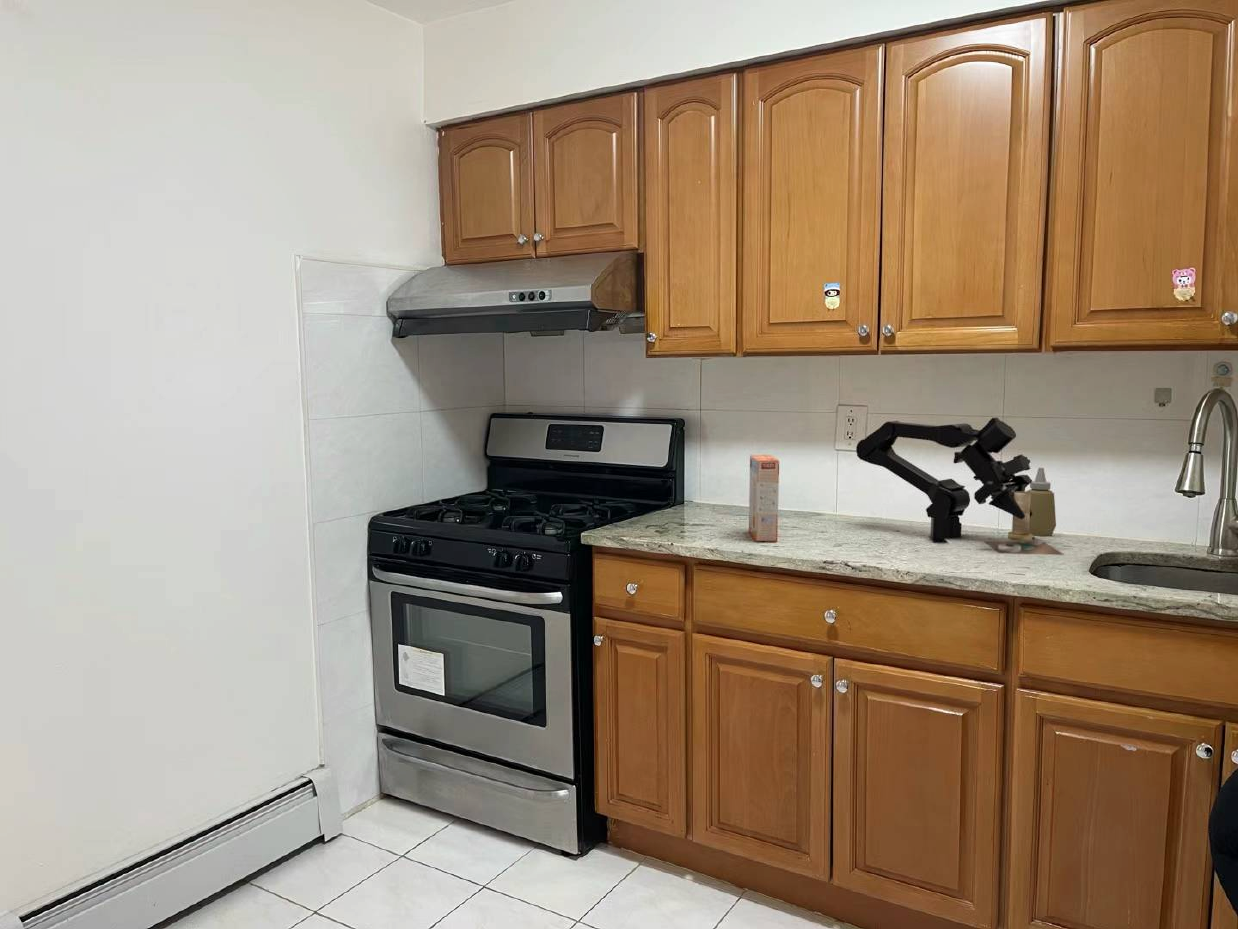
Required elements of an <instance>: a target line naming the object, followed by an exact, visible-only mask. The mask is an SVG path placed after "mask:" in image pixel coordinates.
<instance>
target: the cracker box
mask: <svg viewBox="0 0 1238 929" xmlns="http://www.w3.org/2000/svg"><path fill="white" fill-rule="evenodd" d="M779 480H780V460H779V459H777V458H775V457H774V456H773V455H771V454H750V456H749V492H748V493H749V494H748V495H749V496H748V497H749V498H748V500H749V501H748V533H749V534H750V535H751V537H752V538H753V540H754V541H755V542H757V541H765V542H766V543H767V542H772V543H773V542H774V543H775V542H778V532H779V531H778V528H779V527H778V525H779V492H780V491H779V488H780V487H779V484H780V481H779ZM765 542H764V543H765Z"/></svg>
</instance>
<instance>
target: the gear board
mask: <svg viewBox="0 0 1238 929" xmlns="http://www.w3.org/2000/svg"><path fill="white" fill-rule="evenodd" d="M983 542H984V543H985V544H987V545H988V546H989V547H990V548H992V549H993V550H995V551H996V552H997V553H998V554H1010V555H1011V554H1013V555H1014V554H1016V555H1017V554H1018V555H1019V554H1020V555H1021V554H1022V555H1053V556H1054V555H1062V556H1064V555H1065V554H1064V553H1063V552H1061V551H1060V550H1058V549H1056V548H1054V547H1052V546H1051V545H1050V544H1048V543H1046V542H1043V539H1041V538H1038V537H1036V536H1033V535H1032V540H1030V541H992V540H991V541H989V540H988V541H987V540H986V541H984V540H983Z"/></svg>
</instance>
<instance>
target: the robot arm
mask: <svg viewBox="0 0 1238 929" xmlns="http://www.w3.org/2000/svg"><path fill="white" fill-rule="evenodd" d="M898 438H903V439H913V440H914V439H915V440H924V441H929V442H930V441H931V442H934V443H936V444H938V445H941V446H944V447H947V448H950V449H957V448H963V447H964V448H963V449H962V450H961V451H954V453H953V454H954V457H953V464H959V463H963V462H964V463H965V465H966V466H967V467H968V469H970V471H971V472H972V473H973V474H974V476H973V477H972V478H973V479H974V480H975V481H979V482H981V483H982V486H981V487H979V488H978V489H977V490H976V491H975V492H974V494H973V495H974V496H973V498H974V500H975V502H977V504H978V505H983V504H985V503H987V499H988V498H989V497H990V496H991V497H990V499H991V500H990V501H989V502H988V505H989V506H993V507H995V508H997V509H999V510H1002V511H1003V512H1006V513H1008V514H1009V515H1012V516H1013V515H1014V516H1016V517H1018V518H1020V519H1023V518H1024V517H1025V515H1024V513H1023V512H1022V510H1021V508H1020V507H1019V505H1018V504H1017V502H1016V501H1015V500H1014V492H1015V491H1025V492H1026V488H1027V487H1028V486H1030V483H1031V482H1032V481H1033V479H1032V478H1030V476H1029V475H1028V474H1018V473H1021V472H1023V471H1028V470H1031V467H1030V464H1031V460H1030V459H1029V458H1028V456H1025V455H1023V454H1018V455H1017V456H1016V455H1015V456H1013V458H1012V459H1010V460H1008V461H1005V462H1003V461H1002V460H996V459H995V458H994V457H993V455H992V453H994V454H999V453H1000V452H1001V451H1002V450H1003V449H1004V448H1006V447H1007V446H1008V445H1009V444H1010V443H1011V442H1012V441H1013V440H1015V438H1017V434H1016V432H1015V430H1014V429H1013V427H1012V426H1010V425H1008V424H1007V423H1006V422H1004V421H1002V420H1000V419H999V417H991V419H990V420H988V422H987V424H986V425H984V427H982V428H981V429H980V430H979V429H975V428H973V426H972V425H970V424H969V423H964V422H963V423H954V424H943V425H935V424H933V425H932V424H926V423H925V424H924V423H912V422H905V421H903V422H902V421H899V420H891V421H885V422H884V423H883V424H882V425H881V426H880V427H879V428H878V429H876V430H875V431H873V432H872V433H870V434H869V435H867V436H866V437H865V438H863V439H861V440H859V441H858V443H857V444H856V448H855V449H856V456H857V457H858V458H859V460H862V461H863V462H865V463H869V464H870V465H875V466H879V467H883V468H884V469H887V470H888V471H889V472H890V473H893V474H894V475H896V476H898V477H899V478H901V479H902V480H903V481H905V482H907V483H908V484H910V485H912V486H913V487H915V488H916V489H918V490H919V491H921V492H922V493H924V494H925V495H927V497H928V499H929V501H930V502H931V504H930V505H928V506H927V508H925V511H926V514H927V517H928V518H930V535H928V538H929V540H931V542H932V543H944V544H945V543H946V544H947V543H949V541H947V539H961V538H962V525H963V524H962V522H960V519H961V518H960V517H961V516H963V515H964V512H965V510H966V509H967V508H968V507H969V505H970V502H971V497H970V492H969V491H968V490H967V489H965V488H966V486H965V485H962V484H960V483H958V482H957V481H956V480H954V479H953V478H947V479H941V480H939V479H937V478H936V477H934V476H933V475H931V474H929V473H927V472H926V471H924V470H923V469H921V468H919V467H918V466H916V465H914V464H913V463H911V462H909V461H908V460H906V459H904V458H903V457H901V456H900V455H898V454H897V453H896V452H895V450H894V449H893V445H895V443H896V441H897V440H898ZM972 443H973V444H972ZM1016 474H1018V475H1016ZM1032 515H1033V513H1032V511H1031V509H1030V517H1031V516H1032Z"/></svg>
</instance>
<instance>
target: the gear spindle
mask: <svg viewBox="0 0 1238 929" xmlns="http://www.w3.org/2000/svg"><path fill="white" fill-rule="evenodd" d="M1030 498H1031V493H1030V492H1026V490H1025V491H1015V492H1014V500H1015V501H1016V502H1017V504H1018V505H1019V507H1020V508H1021V510H1022V512H1023V513H1024V515H1025V517H1024V518H1023V519H1020V518H1018V517H1016V516H1014V515H1012V521H1011V522H1012V524H1011V525H1012V526H1011V531H1009V532H1008V534H1007V539H1009V540H1012V541H1017V542H1020V541H1030V540H1032V536H1033V534H1031V533H1029V519H1030Z"/></svg>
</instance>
